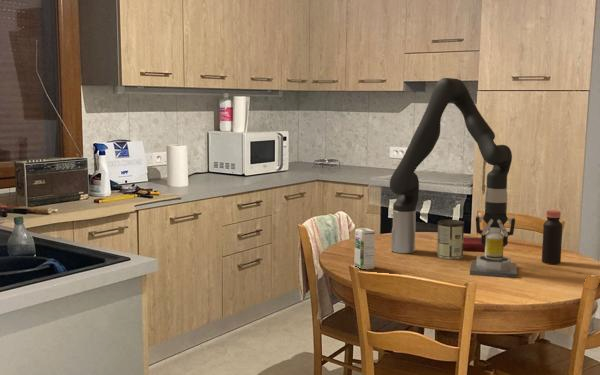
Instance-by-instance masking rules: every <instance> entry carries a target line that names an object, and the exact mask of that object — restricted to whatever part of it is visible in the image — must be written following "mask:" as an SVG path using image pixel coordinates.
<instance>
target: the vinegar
mask: <svg viewBox="0 0 600 375" xmlns="http://www.w3.org/2000/svg"><path fill="white" fill-rule="evenodd" d="M560 219H561V211H560V210H548V209H547V210H546V221H545V222H543V229H542V247H541V249H542V250H541V262H542V263H544V264H546V265H559V264H561V262H562V261H561V260H562V244H563V243H562V242H563V240H562V239H563V223H562V222H561V221H560Z"/></svg>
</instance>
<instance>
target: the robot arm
mask: <svg viewBox="0 0 600 375" xmlns="http://www.w3.org/2000/svg"><path fill="white" fill-rule="evenodd" d="M472 98H473V97H472V96H471V94H470V92H469V90H468V89H467V86H466V84H465V83H464V81H462V80H460V79H458V78H453V77H451V78H450V77H444V78H441V79H439V80H438V81H437V82H436V83H435V86H434V87H433V90H432V92H431V95H430V98H429V101H428V104H427V106H426V109H425V111H424V113H423V115H422V118H421V120H420V122H419V124H418V126H417V128H416V130H415V132H414V134H413V135H412V138H411V140H410V143H409V144H408V147H407V148H406V151H405V152H404V155H403V157H402V158H401V160H400V162H399V164H398V165H397V167H396V168H395V170H394V171H393V173H392V174H391V177H390V180H389V188H390V190H391V192H392V193H393V194H395V195H398V198H397V199H396V200H395V202H393V205H392V229H391V247H390V248H391V251H393V253H396V254H397V253H399V254H411V253H415V251H416V250H415V249H416V220H417V219H416V218H417V217H416V214H417V212H416V210H417V206H418V202H419V192H420V182H419V176H418V175H417V173H415V171H416V169H417V168H418V167H419V165H420V164H422V162H423V161H425V159H426V158H427V157H429V155H430V154H432V151H433V149H435V146H436V145H437V142H438V140H439V138H440V135H441V118H442V117H443V114H444V112H445V110H446V108H447V106H448V105H449V104H453V105H454V106H456V108H458V110H459V111H460V113H461V114H462V116H463V118H464V123H465V127H466V129H467V131H468V132H469V133H468V134H470V136H471V137H472V139H473V140H474V141H475V143H476V144H477V146H478V149H479V152H480V154H481V157H482V159H483V160H484V161H485V162H486V163H487V164H488V165H491V166H493V167H492V170H491V171H489V172H488V173H487V175H486V189H485V194H484V195H485V197H484V199H485V200H484V215H483V216H479V215H477V216H475V227H476V233H477V234H479V235H481V237H480V238H481V243H482V244H483V245H485V235H486V234H487V233H488V229H489V227H495V228H501V232H502V234H503V236H504V244H503V248H505V247H506V246H508V239H509V238H508V237H509V236H514V231H515V224H516V218H515V217H508V216H507V210H508V209H507V208H508V189H507V188H508V174H509V173H510V169H511V165H512V160H513V152H512V150H511V148H510V147H509V146H508V145H505V144H496V143H495V139H496V134H495V132H494V130H493V129H492V127H490V125H489V124H488V122H487V121H486V120H485V118H484V117H483V116H482V114H481V113H480V111H479V110H478V108H477V105H476V104H475V102H474V100H473V99H472ZM482 221H484V222H485V224H486V225H485V226H484V228H483V229H481V223H482ZM507 222H508V223H509V225H510V227H509V231H507V228H506V226H505V224H506V223H507ZM391 251H390V252H391Z"/></svg>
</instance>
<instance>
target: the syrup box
mask: <svg viewBox="0 0 600 375" xmlns="http://www.w3.org/2000/svg"><path fill="white" fill-rule="evenodd" d="M354 234H355V235H354V263H353V264H354V265H353V266H354V267H355V266H357V267H359V268H361V269H366V270H372V269H375V250H376V248H375V247H376V245H375V244H376V231H375V230H372V229H370V228H366V227H365V228H364V227H359V228H356V229H355V230H354ZM357 267H356V268H357ZM359 268H358V269H359Z"/></svg>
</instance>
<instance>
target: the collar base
mask: <svg viewBox="0 0 600 375" xmlns="http://www.w3.org/2000/svg"><path fill="white" fill-rule="evenodd" d="M517 267H518V266H517V262H512V258H511V257H508V256H504V255H503V258H502V259H500V260H492V259H487V258H486V257H485V254H481V255H476V259H471V262H470V268H469V275H473V276H485V277H499V278H501V277H502V278H513V279H517V278H518V269H517Z"/></svg>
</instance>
